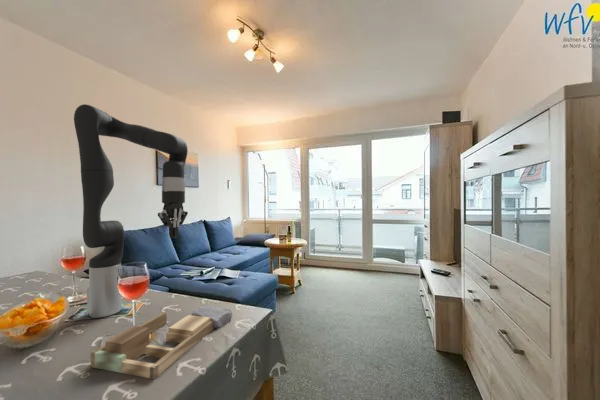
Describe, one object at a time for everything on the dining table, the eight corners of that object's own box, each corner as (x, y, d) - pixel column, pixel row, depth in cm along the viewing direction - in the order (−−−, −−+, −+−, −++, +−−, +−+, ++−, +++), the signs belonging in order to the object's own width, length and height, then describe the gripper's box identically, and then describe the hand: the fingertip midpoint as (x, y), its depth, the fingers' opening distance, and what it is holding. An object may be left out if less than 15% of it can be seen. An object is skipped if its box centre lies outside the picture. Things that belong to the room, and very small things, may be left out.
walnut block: (105, 366, 61) (105, 341, 61) (133, 347, 69) (134, 325, 69) (122, 369, 60) (122, 343, 60) (149, 350, 68) (149, 327, 68)
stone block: (209, 317, 92) (187, 323, 83) (211, 303, 92) (190, 307, 84) (235, 324, 86) (214, 332, 78) (237, 310, 87) (217, 315, 78)
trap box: (90, 367, 61) (90, 352, 61) (163, 322, 83) (163, 312, 83) (154, 379, 56) (154, 363, 57) (212, 329, 79) (212, 317, 79)
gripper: (177, 191, 99) (177, 235, 99) (150, 189, 87) (150, 240, 86) (194, 191, 98) (194, 235, 97) (168, 189, 85) (168, 240, 85)
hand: (173, 237), depth 92 cm, fingers closed
